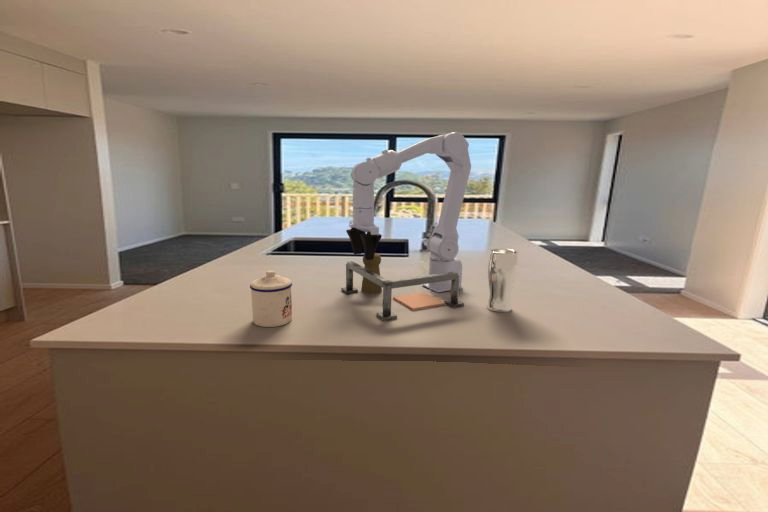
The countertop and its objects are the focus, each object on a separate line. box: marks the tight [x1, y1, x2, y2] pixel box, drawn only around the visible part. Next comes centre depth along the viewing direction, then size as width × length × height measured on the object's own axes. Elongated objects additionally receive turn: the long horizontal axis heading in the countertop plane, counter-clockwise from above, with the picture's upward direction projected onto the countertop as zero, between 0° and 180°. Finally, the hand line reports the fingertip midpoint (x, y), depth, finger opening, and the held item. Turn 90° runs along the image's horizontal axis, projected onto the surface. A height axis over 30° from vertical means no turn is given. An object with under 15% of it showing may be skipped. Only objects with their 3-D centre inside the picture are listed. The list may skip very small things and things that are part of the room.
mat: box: [392, 291, 446, 312], centre depth 104 cm, size 10×10×1 cm
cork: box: [360, 252, 383, 295], centre depth 112 cm, size 6×6×11 cm
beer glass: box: [486, 248, 519, 313], centre depth 99 cm, size 7×7×15 cm
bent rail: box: [340, 260, 465, 322], centre depth 106 cm, size 24×26×9 cm
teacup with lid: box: [249, 269, 293, 328], centre depth 90 cm, size 12×9×12 cm
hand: (363, 256), depth 110 cm, fingers open, 7 cm apart
